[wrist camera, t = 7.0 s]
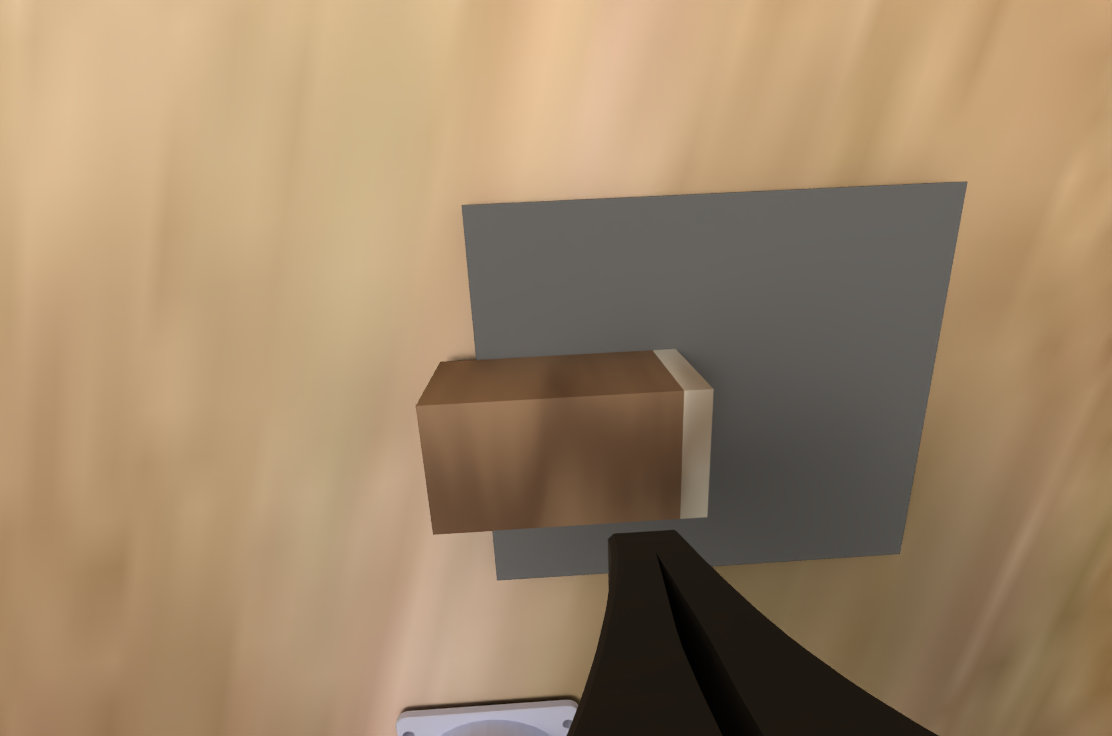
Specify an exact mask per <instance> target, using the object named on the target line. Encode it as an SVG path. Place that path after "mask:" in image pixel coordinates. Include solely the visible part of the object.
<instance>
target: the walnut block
mask: <svg viewBox="0 0 1112 736" xmlns="http://www.w3.org/2000/svg"><path fill="white" fill-rule="evenodd" d="M713 391H714V389H713V388H712V387H711V386H710V385H709V384H708V383H707V382H706V380H705V379H704V378H703V377H702V376H701V375H700V374H699V373H698V372H697V371H696V370H695V369H694V368H693V367H692V366H691V365H690V364H689V362H688V361H687V360H686V359H685V358H684V357H683V356H682V355H681V354H680V353H679V352H678V351H677V350H676V349H665V350H647V351H629V352H610V353H592V354H574V355H556V356H538V357H519V358H501V359H483V360H465V361H446V362H440V364H439V365H438V367H437V369H436V371H435V373H434V374H433V376H432V378H431V380H430V382H429V383H428V385H427V387H426V389H425V391H424V392H423V394H422V396H421V398H420V399H419V401H418V403H417V405H416V411H417V418H418V426H419V433H420V440H421V448H422V455H423V463H424V470H425V478H426V485H427V492H428V500H429V507H430V515H431V522H432V529H433V535H434V534H450V533H466V532H481V531H497V530H513V529H529V528H544V527H560V526H576V525H592V524H607V523H623V522H639V521H655V520H671V519H686V518H702V517H707V514H708V493H709V473H710V452H711V432H712V412H713Z"/></svg>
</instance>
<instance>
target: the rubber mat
mask: <svg viewBox="0 0 1112 736" xmlns="http://www.w3.org/2000/svg"><path fill="white" fill-rule="evenodd" d="M966 187H967V182H944V183H923V184H902V185H881V186H859V187H838V188H817V189H796V190H774V191H753V192H732V193H711V194H689V195H668V196H647V197H626V198H605V199H583V200H562V201H541V202H520V203H498V204H477V205H462V214H463V225H464V235H465V246H466V257H467V267H468V278H469V288H470V299H471V309H472V320H473V331H474V341H475V352H476V360H483V359H501V358H519V357H538V356H556V355H574V354H592V353H610V352H629V351H647V350H665V349H676V350H677V351H678V352H679V353H680V354H681V355H682V356H683V357H684V358H685V359H686V360H687V361H688V362H689V364H690V365H691V366H692V367H693V368H694V369H695V370H696V371H697V372H698V373H699V374H700V375H701V376H702V377H703V378H704V379H705V380H706V382H707V383H708V384H709V385H710V386H711V387H712V388H713V389H714V391H713V412H712V432H711V452H710V473H709V493H708V514H707V517H702V518H686V519H671V520H655V521H639V522H623V523H607V524H592V525H576V526H560V527H544V528H529V529H513V530H497V531H493V542H494V553H495V563H496V574H497V580H512V579H527V578H543V577H558V576H573V575H588V574H603V573H609V571H608V538H609V537H611V536H612V535H613V534H615V533H630V532H646V531H661V530H676V531H677V532H678V533H679V534H680V535H681V536H682V537H683V538H684V539H685V540H686V541H687V542H688V543H689V544H690V545H691V546H692V547H693V548H694V549H695V550H696V551H697V552H698V553H699V555H700V556H701V557H702V558H703V559H704V560H705V561H706V562H707V563H708V564H709V565H710V566H725V565H740V564H755V563H770V562H785V561H801V560H816V559H831V558H846V557H861V556H876V555H892V554H900V550H901V545H902V539H903V534H904V528H905V523H906V517H907V512H908V506H909V501H910V495H911V490H912V484H913V479H914V473H915V468H916V462H917V457H918V451H919V446H920V440H921V435H922V429H923V424H924V418H925V413H926V407H927V402H928V396H929V391H930V385H931V379H932V374H933V368H934V363H935V357H936V352H937V346H938V341H939V335H940V330H941V324H942V319H943V313H944V308H945V302H946V297H947V291H948V286H949V280H950V275H951V269H952V264H953V258H954V253H955V247H956V242H957V236H958V231H959V225H960V220H961V214H962V209H963V203H964V198H965V192H966Z"/></svg>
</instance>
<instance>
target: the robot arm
mask: <svg viewBox="0 0 1112 736" xmlns="http://www.w3.org/2000/svg"><path fill="white" fill-rule="evenodd" d="M608 571H609V593H608V600H607V607H606V612H605V617H604V621H603V625H602V629H601V634H600V638H599V642H598V646H597V650H596V654H595V657H594V661H593V664H592V667H591V670H590V674H589V677H588V680H587V683H586V686H585V689H584V692H583V694H582V697H581V700H580V702H579V705H578V704H577V703H576V702H575V701H572V700H554V701H540V702H526V703H513V704H499V705H485V706H471V707H457V708H443V709H429V710H415V711H406V712H403V713H401V714H400V715H399V716H398V719H397V723H396V730H397V736H938V735H936V734H935V733H933V732H931V731H929V730H928V729H926V728H924V727H922V726H921V725H919V724H917V723H916V722H914V721H912V720H911V719H909V718H907V717H906V716H904V715H903V714H901V713H899V712H898V711H896V710H895V709H893V708H891V707H890V706H888V705H887V704H885V703H883V702H882V701H880V700H879V699H877V698H875V697H874V696H872V695H871V694H869V693H867V692H866V691H864V690H863V689H861V688H860V687H858V686H857V685H855V684H854V683H852V682H851V681H849V680H848V679H846V678H845V677H843V676H842V675H841V674H839V673H838V672H836V671H835V670H834V669H832V668H831V667H830V666H828V665H827V664H825V663H824V662H823V661H821V660H820V659H818V658H817V657H816V656H814V655H813V654H811V653H810V652H809V651H807V650H806V649H805V648H803V647H802V646H801V645H799V644H798V643H797V642H796V641H794V640H793V639H792V638H790V637H789V636H788V635H787V634H785V633H784V632H783V631H782V630H781V629H779V628H778V627H777V626H776V625H775V624H773V623H772V622H771V621H770V620H769V619H767V618H766V617H765V616H764V615H763V614H762V613H760V612H759V611H758V610H757V609H756V608H755V607H754V606H753V605H751V604H750V603H749V602H748V601H747V600H746V599H745V598H744V597H743V596H742V595H741V594H740V593H738V592H737V591H736V590H735V589H734V588H733V587H732V586H731V585H730V584H729V583H728V582H727V581H726V580H725V579H724V578H723V577H721V576H720V575H719V574H718V573H717V572H716V571H715V570H714V569H713V568H712V567H711V566H710V565H709V564H708V563H707V562H706V561H705V560H704V559H703V558H702V557H701V556H700V555H699V553H698V552H697V551H696V550H695V549H694V548H693V547H692V546H691V545H690V544H689V543H688V542H687V541H686V540H685V539H684V538H683V537H682V536H681V535H680V534H679V533H678V532H677V531H676V530H661V531H646V532H630V533H615V534H613V535H612V536H611V537H609V538H608Z"/></svg>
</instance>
